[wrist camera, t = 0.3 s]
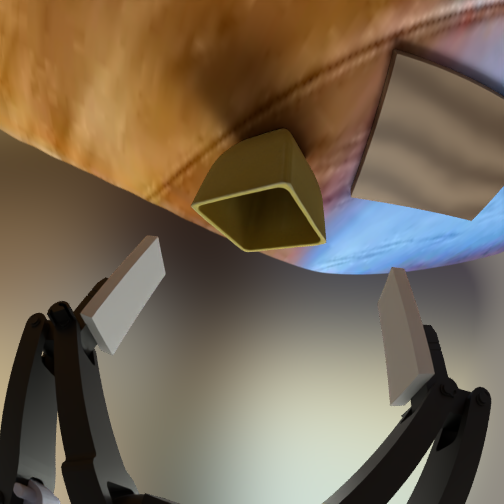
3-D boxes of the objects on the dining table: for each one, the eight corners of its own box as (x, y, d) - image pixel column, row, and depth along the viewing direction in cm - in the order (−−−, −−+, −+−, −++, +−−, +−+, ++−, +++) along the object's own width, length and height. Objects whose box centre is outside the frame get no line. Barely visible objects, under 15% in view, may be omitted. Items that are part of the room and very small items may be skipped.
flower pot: (213, 133, 25) (187, 206, 22) (295, 104, 21) (287, 182, 17) (257, 184, 32) (244, 253, 28) (328, 168, 27) (327, 244, 24)
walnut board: (393, 48, 13) (397, 53, 13) (541, 121, 11) (546, 128, 11) (350, 190, 30) (351, 197, 29) (469, 214, 27) (471, 220, 27)
